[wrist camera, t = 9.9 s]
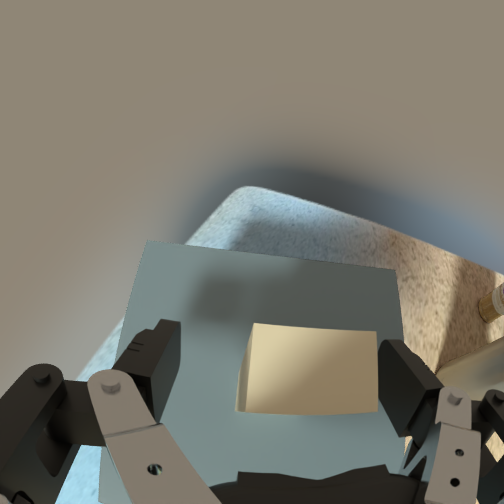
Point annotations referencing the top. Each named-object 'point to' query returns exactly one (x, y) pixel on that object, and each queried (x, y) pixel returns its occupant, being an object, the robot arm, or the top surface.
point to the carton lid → (268, 362)
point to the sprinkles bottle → (492, 304)
